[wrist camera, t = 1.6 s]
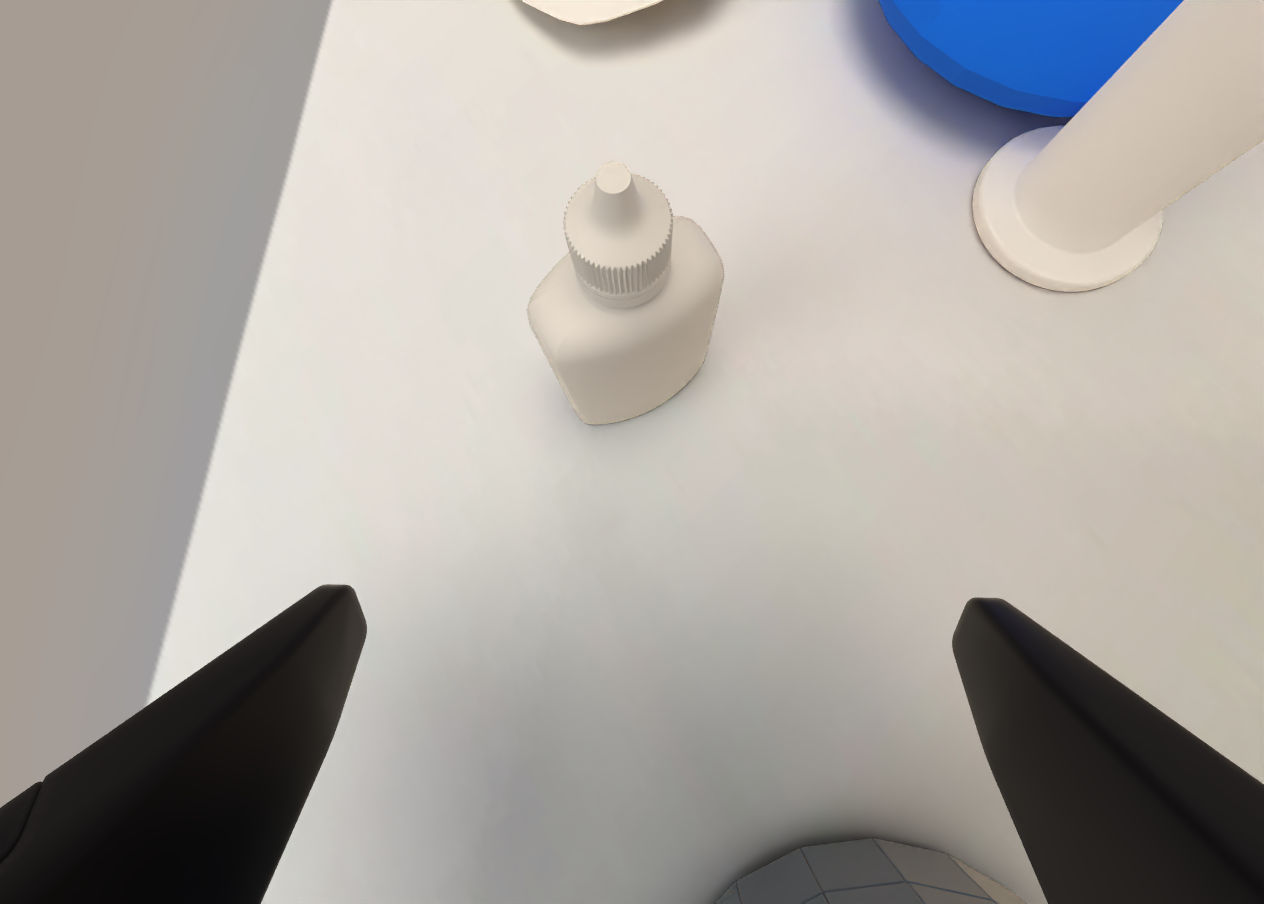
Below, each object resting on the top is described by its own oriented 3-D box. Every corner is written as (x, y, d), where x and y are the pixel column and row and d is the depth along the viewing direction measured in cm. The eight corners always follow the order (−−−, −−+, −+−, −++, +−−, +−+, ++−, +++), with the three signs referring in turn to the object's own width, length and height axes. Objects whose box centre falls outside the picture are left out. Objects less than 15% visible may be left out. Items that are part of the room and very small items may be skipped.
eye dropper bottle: (565, 323, 24) (476, 85, 12) (703, 321, 23) (753, 76, 12) (563, 427, 23) (465, 284, 11) (706, 426, 23) (763, 277, 11)
